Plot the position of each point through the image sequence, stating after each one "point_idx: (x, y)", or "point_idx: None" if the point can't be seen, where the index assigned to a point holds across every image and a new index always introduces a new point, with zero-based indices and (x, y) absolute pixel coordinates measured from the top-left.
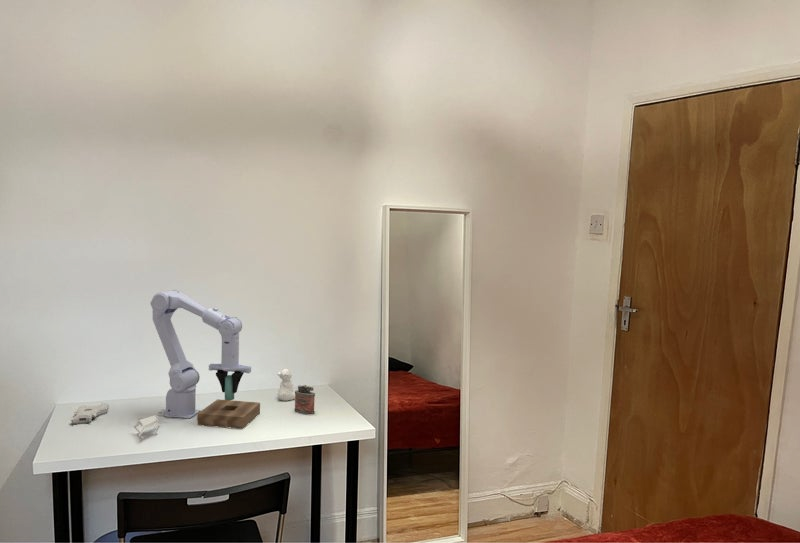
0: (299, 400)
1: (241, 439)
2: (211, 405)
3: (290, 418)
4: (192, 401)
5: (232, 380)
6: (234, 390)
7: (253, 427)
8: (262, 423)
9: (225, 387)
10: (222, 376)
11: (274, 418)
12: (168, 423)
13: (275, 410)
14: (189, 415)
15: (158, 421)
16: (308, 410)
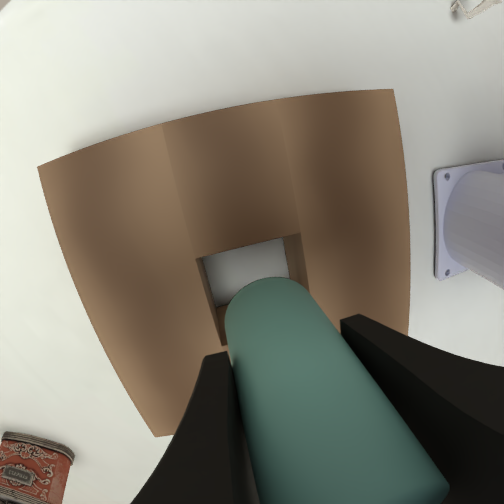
0: (29, 476)
1: (8, 44)
2: (396, 271)
3: (14, 387)
4: (493, 231)
5: (229, 489)
6: (199, 374)
7: (40, 214)
8: (45, 288)
9: (343, 355)
10: (496, 449)
11: (56, 368)
12: (466, 87)
13: (132, 440)
14: (448, 193)
15: (476, 10)
16: (8, 444)
